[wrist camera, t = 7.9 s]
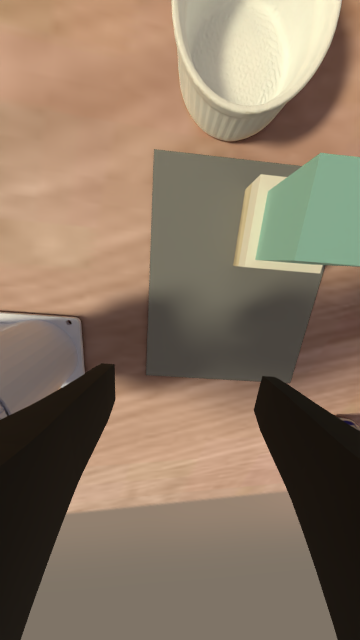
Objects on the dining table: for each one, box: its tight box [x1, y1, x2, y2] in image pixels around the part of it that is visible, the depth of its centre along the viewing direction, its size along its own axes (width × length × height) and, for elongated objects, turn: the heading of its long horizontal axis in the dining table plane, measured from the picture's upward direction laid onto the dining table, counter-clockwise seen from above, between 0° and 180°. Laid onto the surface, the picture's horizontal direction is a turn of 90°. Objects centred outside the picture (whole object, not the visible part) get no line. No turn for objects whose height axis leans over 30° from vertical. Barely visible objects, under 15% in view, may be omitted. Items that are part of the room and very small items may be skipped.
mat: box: [146, 149, 325, 383], centre depth 18 cm, size 16×20×1 cm
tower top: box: [238, 174, 323, 274], centre depth 15 cm, size 6×6×2 cm
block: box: [255, 153, 360, 267], centre depth 12 cm, size 4×4×5 cm
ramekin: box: [172, 0, 342, 141], centre depth 12 cm, size 9×9×4 cm
